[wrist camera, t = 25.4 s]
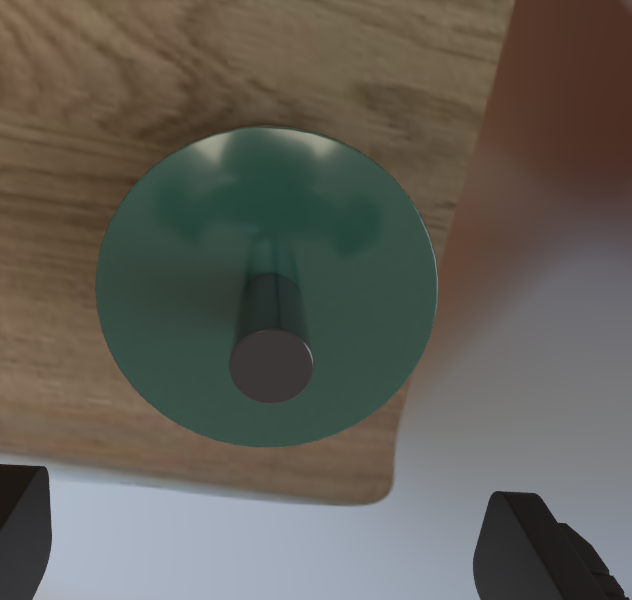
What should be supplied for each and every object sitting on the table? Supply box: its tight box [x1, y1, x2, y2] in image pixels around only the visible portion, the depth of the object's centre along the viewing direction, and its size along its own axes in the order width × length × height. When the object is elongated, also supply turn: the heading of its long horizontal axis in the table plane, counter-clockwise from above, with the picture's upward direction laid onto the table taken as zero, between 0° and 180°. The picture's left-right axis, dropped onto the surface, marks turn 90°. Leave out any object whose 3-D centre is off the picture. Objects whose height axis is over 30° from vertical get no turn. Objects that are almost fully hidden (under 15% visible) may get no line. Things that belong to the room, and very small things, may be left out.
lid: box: [95, 125, 438, 448], centre depth 18 cm, size 12×12×6 cm
